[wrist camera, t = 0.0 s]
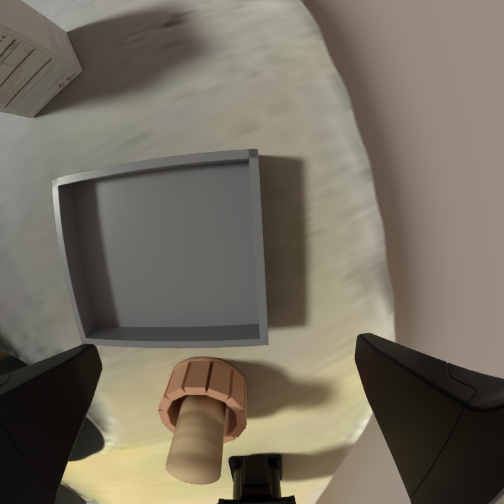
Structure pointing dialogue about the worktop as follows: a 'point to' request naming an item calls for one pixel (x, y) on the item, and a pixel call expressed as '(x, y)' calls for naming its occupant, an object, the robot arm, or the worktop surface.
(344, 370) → the worktop surface
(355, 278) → the worktop surface
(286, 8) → the worktop surface
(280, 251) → the worktop surface
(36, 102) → the supplement box
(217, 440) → the dowel
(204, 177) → the tray
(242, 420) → the pink short hollow cylinder
